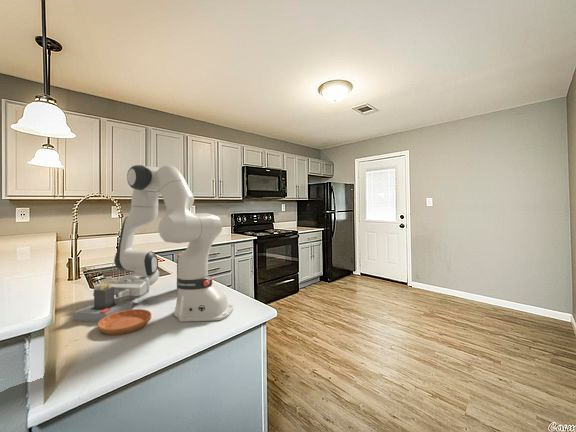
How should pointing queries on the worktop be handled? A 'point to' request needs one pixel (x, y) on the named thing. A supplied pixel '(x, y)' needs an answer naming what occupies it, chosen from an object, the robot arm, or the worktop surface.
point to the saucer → (124, 321)
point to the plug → (104, 297)
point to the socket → (100, 311)
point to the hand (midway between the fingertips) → (106, 295)
